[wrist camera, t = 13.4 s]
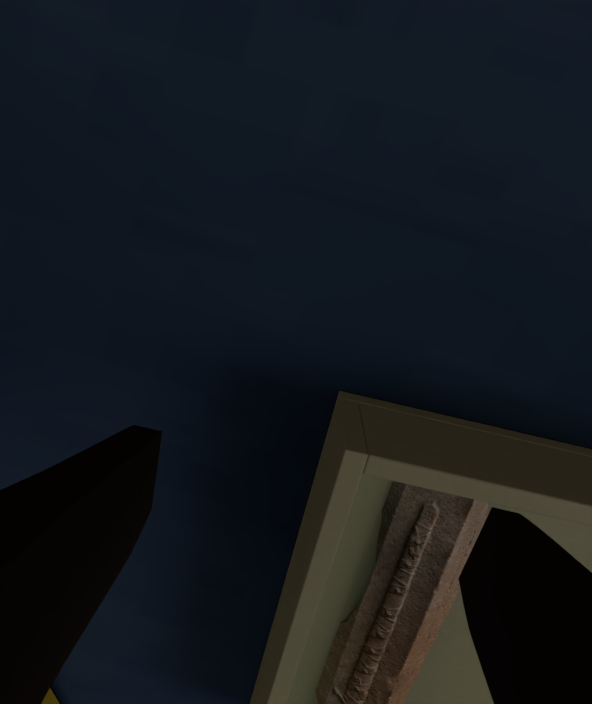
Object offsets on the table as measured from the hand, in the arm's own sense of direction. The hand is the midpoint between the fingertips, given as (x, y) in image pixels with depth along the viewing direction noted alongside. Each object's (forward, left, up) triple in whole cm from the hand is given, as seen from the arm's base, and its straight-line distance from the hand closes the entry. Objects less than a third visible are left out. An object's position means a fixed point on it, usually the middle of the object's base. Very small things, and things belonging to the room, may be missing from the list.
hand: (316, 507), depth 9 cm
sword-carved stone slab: (+7, -12, -9) cm, 16 cm away
